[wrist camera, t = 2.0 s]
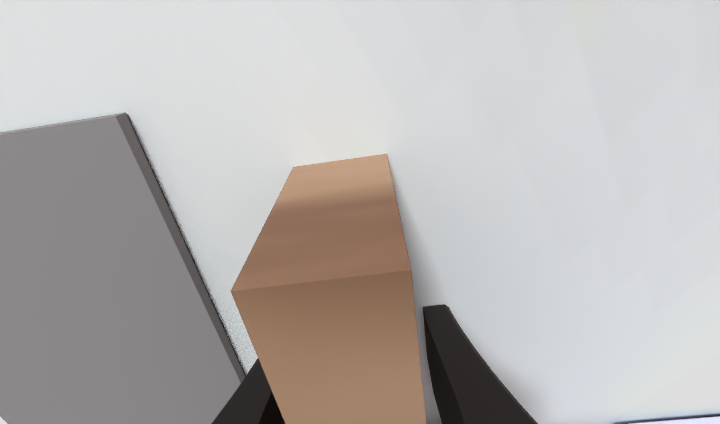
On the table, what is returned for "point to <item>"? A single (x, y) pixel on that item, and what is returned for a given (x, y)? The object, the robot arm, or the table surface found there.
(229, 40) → the table surface
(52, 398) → the mat
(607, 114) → the table surface
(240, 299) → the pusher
